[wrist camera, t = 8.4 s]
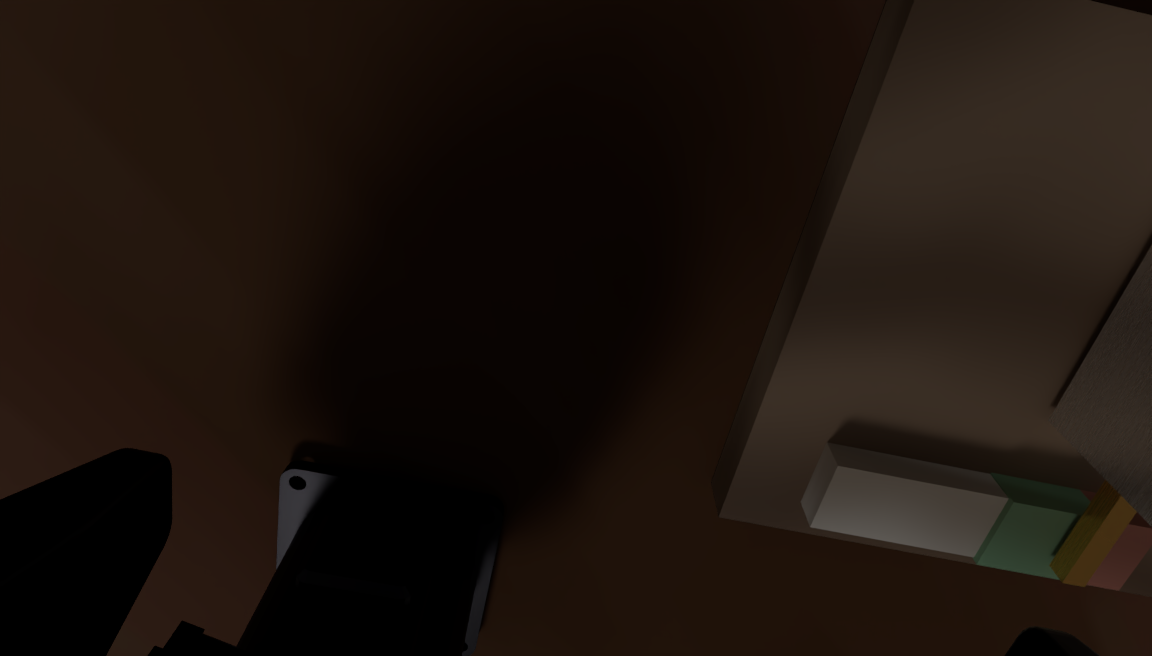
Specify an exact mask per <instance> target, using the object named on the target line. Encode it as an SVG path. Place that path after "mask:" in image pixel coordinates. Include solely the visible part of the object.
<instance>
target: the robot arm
mask: <svg viewBox="0 0 1152 656" xmlns="http://www.w3.org/2000/svg"><path fill="white" fill-rule="evenodd" d="M294 476H299V477H302V478H303V479H304V480H305V481H300V480H297V479H296V478H295V477H294ZM483 510H488V511H490V512H492V513H493V514H491V515H486V514H483V513H482V512H481V511H483ZM503 516H504V505H503V503H502V501H501V500H499V499H498V498H497V497H494V496H492V495H487V494H482V493H476V492H471V491H465V490H460V489H454V488H449V487H443V486H438V485H432V484H427V483H421V482H416V481H410V480H405V479H400V478H394V477H389V476H383V475H378V474H372V473H367V472H361V471H356V470H350V469H345V468H339V467H334V466H328V465H323V464H317V463H312V462H306V461H294V462H291V463H290V464H289V465H288V466H287V467H286V469H285V470H284V472H283V473H282V475H281V478H280V493H279V518H278V542H277V567H276V572H275V574H274V576H273V578H272V580H271V581H270V583H269V585H268V587H267V589H266V591H265V593H264V595H263V597H262V599H261V601H260V602H259V604H258V606H257V608H256V610H255V612H254V614H253V616H252V618H251V620H250V621H249V623H248V625H247V627H246V629H245V631H244V633H243V635H242V637H241V639H240V641H239V642H238V644H237V646H233V645H231V644H228V643H226V642H223V641H221V640H218V639H216V638H213V637H211V636H208V635H205V634H203V632H204V630H205V629H203V628H200V627H197V626H195V625H192V624H190V623H187V622H185V621H181V623H180V624H179V626H178V627H177V629H176V630H175V632H174V633H173V634H172V636H171V637H170V639H169V640H168V642H167V643H166V645H165V646H164V648H160V647H157V646H154V647H153V649H152V650H151V652H150V653H149V654H148V656H469V655H471V654H472V653H473V652H474V650H475V648H476V643H477V639H478V634H479V629H480V625H481V620H482V615H483V611H484V606H485V601H486V597H487V592H488V587H489V582H490V578H491V573H492V568H493V564H494V559H495V554H496V550H497V545H498V540H499V536H500V531H501V526H502V522H503ZM171 524H172V468H171V463H170V460H169V459H168V458H167V457H166V456H164V455H162V454H158V453H153V452H148V451H143V450H138V449H133V448H123V449H119V450H116V451H114V452H111V453H109V454H107V455H104V456H102V457H100V458H97V459H95V460H93V461H90V462H88V463H86V464H83V465H81V466H78V467H76V468H74V469H71V470H69V471H67V472H64V473H62V474H60V475H57V476H55V477H53V478H50V479H48V480H45V481H43V482H41V483H38V484H36V485H34V486H31V487H29V488H27V489H24V490H22V491H20V492H17V493H15V494H12V495H10V496H8V497H5V498H3V499H1V500H0V656H106V655H107V653H108V651H109V649H110V647H111V645H112V644H113V642H114V640H115V638H116V636H117V634H118V632H119V630H120V629H121V627H122V625H123V623H124V621H125V619H126V617H127V615H128V614H129V612H130V610H131V608H132V606H133V604H134V602H135V600H136V598H137V597H138V595H139V593H140V591H141V589H142V587H143V585H144V583H145V582H146V580H147V578H148V576H149V574H150V572H151V570H152V568H153V566H154V565H155V563H156V561H157V559H158V557H159V555H160V553H161V551H162V550H163V548H164V546H165V544H166V541H167V539H168V536H169V533H170V529H171ZM1005 656H1099V655H1098V654H1097V653H1095V652H1094V651H1093V650H1092V649H1090V648H1089V647H1088V646H1086V645H1085V644H1084V643H1083V642H1081V641H1080V640H1079V639H1077V638H1076V637H1074V636H1073V635H1071V634H1069V633H1066V632H1063V631H1058V630H1053V629H1047V628H1042V627H1036V626H1034V627H1029V628H1027V629H1025V630H1023V631H1022V632H1021V633H1020V634H1019V635H1018V637H1017V638H1016V640H1015V641H1014V643H1013V644H1012V646H1011V647H1010V648H1009V650H1008V651H1007V653H1006V654H1005Z"/></svg>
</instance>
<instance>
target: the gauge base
mask: <svg viewBox="0 0 1152 656" xmlns="http://www.w3.org/2000/svg"><path fill="white" fill-rule="evenodd" d="M1151 245H1152V15H1148V14H1144V13H1140V12H1136V11H1132V10H1128V9H1124V8H1119V7H1115V6H1111V5H1107V4H1103V3H1099V2H1095V1H1091V0H886V3H885V6H884V9H883V11H882V14H881V17H880V20H879V22H878V25H877V28H876V31H875V33H874V36H873V39H872V42H871V44H870V47H869V50H868V53H867V55H866V58H865V61H864V64H863V66H862V69H861V72H860V75H859V77H858V80H857V83H856V86H855V88H854V91H853V94H852V97H851V99H850V102H849V105H848V108H847V110H846V113H845V116H844V119H843V121H842V124H841V127H840V130H839V132H838V135H837V138H836V141H835V143H834V146H833V149H832V152H831V154H830V157H829V160H828V163H827V165H826V168H825V171H824V174H823V176H822V179H821V182H820V185H819V187H818V190H817V193H816V196H815V198H814V201H813V204H812V207H811V209H810V212H809V215H808V218H807V220H806V223H805V226H804V229H803V231H802V234H801V237H800V240H799V242H798V245H797V248H796V251H795V253H794V256H793V259H792V262H791V264H790V267H789V270H788V273H787V275H786V278H785V281H784V284H783V286H782V289H781V292H780V295H779V297H778V300H777V303H776V306H775V308H774V311H773V314H772V317H771V319H770V322H769V325H768V328H767V330H766V333H765V336H764V339H763V341H762V344H761V347H760V350H759V352H758V355H757V358H756V361H755V363H754V366H753V369H752V372H751V374H750V377H749V380H748V383H747V385H746V388H745V391H744V394H743V396H742V399H741V402H740V405H739V407H738V410H737V413H736V416H735V418H734V421H733V424H732V427H731V429H730V432H729V435H728V438H727V440H726V443H725V446H724V449H723V451H722V454H721V457H720V460H719V462H718V465H717V468H716V471H715V473H714V476H713V479H712V482H711V484H712V489H713V494H714V498H715V503H716V507H717V512H718V517H721V518H726V519H732V520H737V521H743V522H748V523H754V524H759V525H764V526H770V527H775V528H781V529H786V530H792V531H797V532H802V533H808V534H813V535H819V536H824V537H829V538H835V539H840V540H846V541H851V542H857V543H862V544H867V545H873V546H878V547H884V548H889V549H894V550H900V551H905V552H911V553H916V554H922V555H927V556H932V557H938V558H943V559H949V560H954V561H959V562H965V563H970V564H976V565H981V566H987V567H992V568H997V569H1003V570H1008V571H1014V572H1019V573H1024V574H1030V575H1035V576H1041V577H1046V578H1052V579H1057V580H1060V579H1059V578H1058V577H1057V575H1056V574H1055V573H1054V571H1053V570H1052V569H1051V567H1050V566H1049V565H1050V563H1051V562H1052V560H1053V559H1054V557H1055V556H1056V554H1057V553H1058V551H1059V550H1060V548H1061V546H1062V545H1063V543H1064V542H1065V540H1066V539H1067V537H1068V536H1069V534H1070V533H1071V531H1072V530H1073V528H1074V527H1075V525H1076V524H1077V522H1078V521H1079V519H1080V518H1081V516H1082V515H1083V513H1084V511H1085V510H1086V508H1087V507H1088V505H1089V504H1090V502H1091V501H1092V499H1093V498H1094V496H1095V495H1096V493H1097V492H1098V490H1099V489H1100V487H1101V486H1102V484H1103V483H1104V481H1105V479H1104V478H1103V477H1102V476H1101V475H1100V474H1099V473H1098V471H1097V470H1096V469H1095V468H1094V467H1093V466H1092V465H1091V464H1090V463H1089V462H1088V461H1087V460H1086V459H1085V458H1084V457H1083V456H1082V455H1081V454H1080V453H1079V452H1078V451H1077V450H1076V449H1075V448H1074V447H1073V446H1072V445H1071V444H1070V443H1069V442H1068V441H1067V440H1066V439H1065V438H1064V437H1063V436H1062V435H1061V434H1060V433H1059V432H1058V431H1057V430H1056V429H1055V427H1054V426H1053V425H1052V424H1051V423H1050V422H1049V421H1048V420H1049V418H1050V417H1051V415H1052V413H1053V412H1054V410H1055V408H1056V407H1057V405H1058V403H1059V401H1060V400H1061V398H1062V396H1063V395H1064V393H1065V391H1066V390H1067V388H1068V386H1069V384H1070V383H1071V381H1072V379H1073V378H1074V376H1075V374H1076V373H1077V371H1078V369H1079V367H1080V366H1081V364H1082V362H1083V361H1084V359H1085V357H1086V356H1087V354H1088V352H1089V350H1090V349H1091V347H1092V345H1093V344H1094V342H1095V340H1096V339H1097V337H1098V335H1099V333H1100V332H1101V330H1102V328H1103V327H1104V325H1105V323H1106V322H1107V320H1108V318H1109V316H1110V315H1111V313H1112V311H1113V310H1114V308H1115V306H1116V305H1117V303H1118V301H1119V299H1120V298H1121V296H1122V294H1123V293H1124V291H1125V289H1126V288H1127V286H1128V284H1129V283H1130V281H1131V279H1132V277H1133V276H1134V274H1135V272H1136V271H1137V269H1138V267H1139V266H1140V264H1141V262H1142V260H1143V259H1144V257H1145V255H1146V254H1147V252H1148V250H1149V249H1150V247H1151ZM1086 585H1089V586H1095V587H1100V588H1106V589H1111V590H1117V591H1122V592H1127V593H1133V594H1138V595H1144V596H1149V597H1152V527H1151V526H1150V525H1149V524H1148V523H1147V522H1146V521H1145V520H1144V519H1143V518H1142V516H1141V515H1140V514H1139V513H1138V512H1137V513H1136V514H1135V515H1134V517H1133V518H1132V520H1131V521H1130V523H1129V524H1128V525H1127V527H1126V528H1125V530H1124V531H1123V533H1122V534H1121V535H1120V537H1119V538H1118V540H1117V541H1116V543H1115V544H1114V546H1113V547H1112V548H1111V550H1110V551H1109V553H1108V554H1107V556H1106V557H1105V558H1104V560H1103V561H1102V563H1101V564H1100V566H1099V567H1098V568H1097V570H1096V571H1095V573H1094V574H1093V576H1092V577H1091V578H1090V580H1089V581H1088V583H1087V584H1086Z"/></svg>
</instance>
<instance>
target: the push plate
mask: <svg viewBox="0 0 1152 656" xmlns="http://www.w3.org/2000/svg"><path fill="white" fill-rule="evenodd" d="M1048 421H1049V422H1050V423H1051V424H1052V425H1053V426H1054V427H1055V429H1056V430H1057V431H1058V432H1059V433H1060V434H1061V435H1062V436H1063V437H1064V438H1065V439H1066V440H1067V441H1068V442H1069V443H1070V444H1071V445H1072V446H1073V447H1074V448H1075V449H1076V450H1077V451H1078V452H1079V453H1080V454H1081V455H1082V456H1083V457H1084V458H1085V459H1086V460H1087V461H1088V462H1089V463H1090V464H1091V465H1092V466H1093V467H1094V468H1095V469H1096V470H1097V471H1098V473H1099V474H1100V475H1101V476H1102V477H1103V478H1104V479H1105V481H1104V483H1103V484H1102V486H1101V487H1100V489H1099V490H1098V492H1097V493H1096V495H1095V496H1094V498H1093V499H1092V501H1091V502H1090V504H1089V505H1088V507H1087V508H1086V510H1085V511H1084V513H1083V515H1082V516H1081V518H1080V519H1079V521H1078V522H1077V524H1076V525H1075V527H1074V528H1073V530H1072V531H1071V533H1070V534H1069V536H1068V537H1067V539H1066V540H1065V542H1064V543H1063V545H1062V546H1061V548H1060V550H1059V551H1058V553H1057V554H1056V556H1055V557H1054V559H1053V560H1052V562H1051V563H1050V565H1049V566H1050V567H1051V569H1052V570H1053V571H1054V573H1055V574H1056V575H1057V577H1058V578H1059V579H1060V581H1061V582H1062V583H1066V584H1071V585H1077V586H1082V587H1085V586H1086V584H1087V583H1088V581H1089V580H1090V578H1091V577H1092V576H1093V574H1094V573H1095V571H1096V570H1097V568H1098V567H1099V566H1100V564H1101V563H1102V561H1103V560H1104V558H1105V557H1106V556H1107V554H1108V553H1109V551H1110V550H1111V548H1112V547H1113V546H1114V544H1115V543H1116V541H1117V540H1118V538H1119V537H1120V535H1121V534H1122V533H1123V531H1124V530H1125V528H1126V527H1127V525H1128V524H1129V523H1130V521H1131V520H1132V518H1133V517H1134V515H1135V514H1136V513H1137V512H1138V513H1139V514H1140V515H1141V516H1142V518H1143V519H1144V520H1145V521H1146V522H1147V523H1148V524H1149V525H1150V526H1151V527H1152V245H1151V247H1150V249H1149V250H1148V252H1147V254H1146V255H1145V257H1144V259H1143V260H1142V262H1141V264H1140V266H1139V267H1138V269H1137V271H1136V272H1135V274H1134V276H1133V277H1132V279H1131V281H1130V283H1129V284H1128V286H1127V288H1126V289H1125V291H1124V293H1123V294H1122V296H1121V298H1120V299H1119V301H1118V303H1117V305H1116V306H1115V308H1114V310H1113V311H1112V313H1111V315H1110V316H1109V318H1108V320H1107V322H1106V323H1105V325H1104V327H1103V328H1102V330H1101V332H1100V333H1099V335H1098V337H1097V339H1096V340H1095V342H1094V344H1093V345H1092V347H1091V349H1090V350H1089V352H1088V354H1087V356H1086V357H1085V359H1084V361H1083V362H1082V364H1081V366H1080V367H1079V369H1078V371H1077V373H1076V374H1075V376H1074V378H1073V379H1072V381H1071V383H1070V384H1069V386H1068V388H1067V390H1066V391H1065V393H1064V395H1063V396H1062V398H1061V400H1060V401H1059V403H1058V405H1057V407H1056V408H1055V410H1054V412H1053V413H1052V415H1051V417H1050V418H1049V420H1048Z"/></svg>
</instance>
